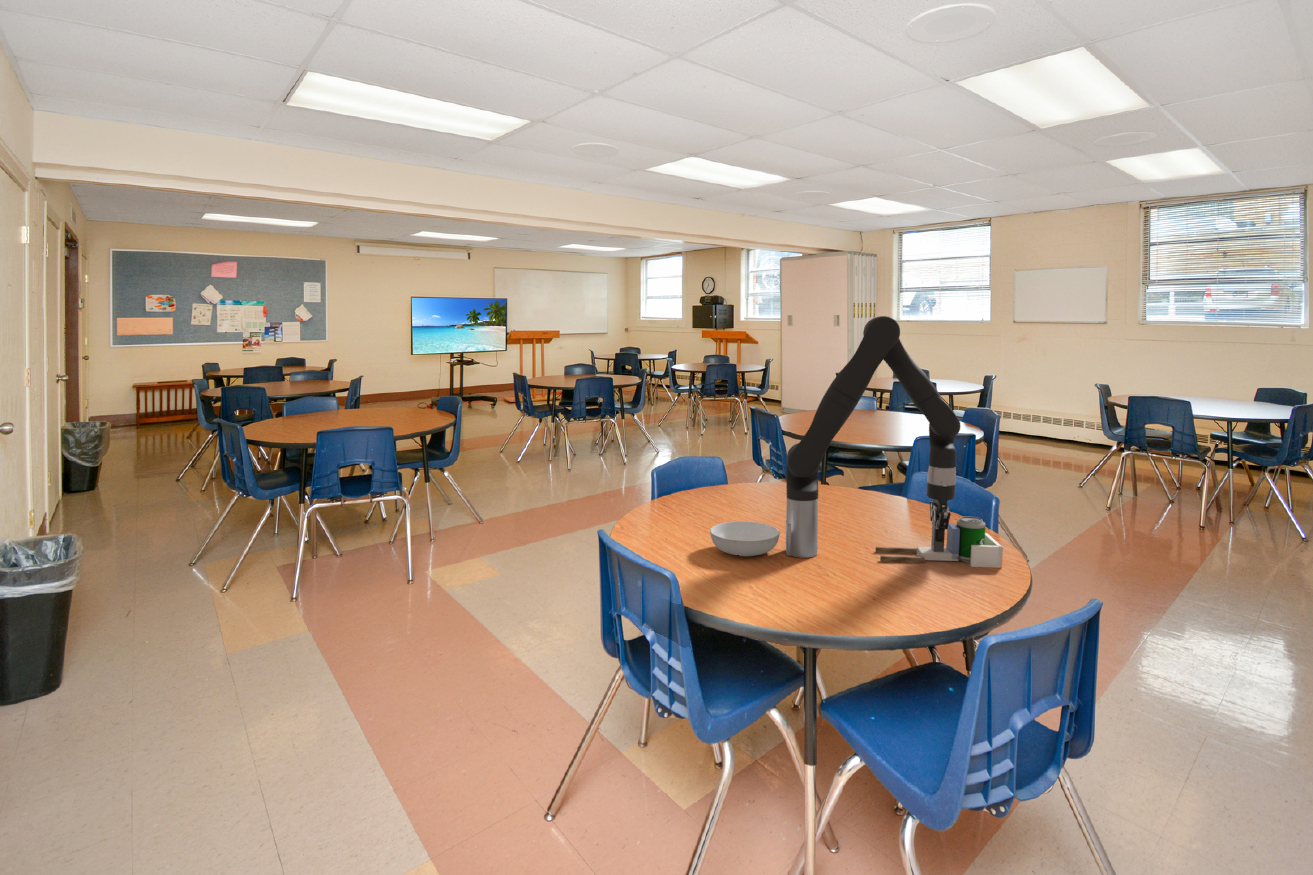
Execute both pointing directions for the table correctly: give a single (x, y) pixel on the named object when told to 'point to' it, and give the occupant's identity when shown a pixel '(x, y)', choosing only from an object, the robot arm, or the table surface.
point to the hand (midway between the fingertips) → (937, 539)
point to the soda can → (970, 535)
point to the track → (899, 558)
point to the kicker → (942, 545)
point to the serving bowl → (744, 537)
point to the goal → (987, 554)
